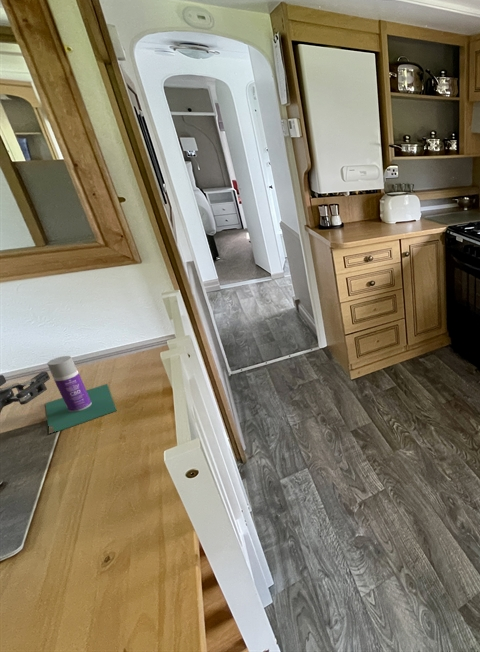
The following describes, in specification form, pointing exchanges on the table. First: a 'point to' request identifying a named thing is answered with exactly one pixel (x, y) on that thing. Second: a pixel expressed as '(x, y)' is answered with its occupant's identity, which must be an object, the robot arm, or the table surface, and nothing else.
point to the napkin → (64, 419)
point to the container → (69, 383)
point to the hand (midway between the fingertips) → (24, 376)
